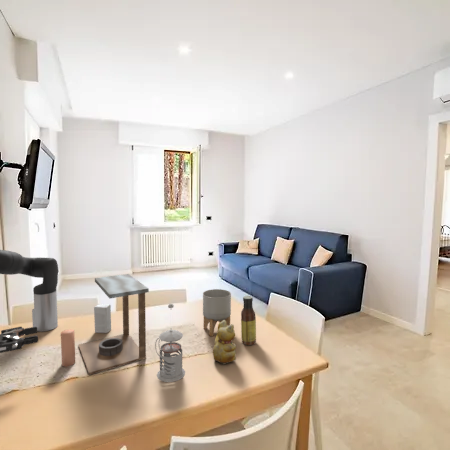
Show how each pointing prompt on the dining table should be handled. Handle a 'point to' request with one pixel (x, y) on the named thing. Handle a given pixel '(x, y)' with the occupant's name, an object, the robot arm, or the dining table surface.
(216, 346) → the decorative figurine
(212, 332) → the planter
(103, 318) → the skincare box
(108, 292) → the slanted top stand
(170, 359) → the french press
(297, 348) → the dining table surface
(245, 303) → the sauce bottle
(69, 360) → the peg
